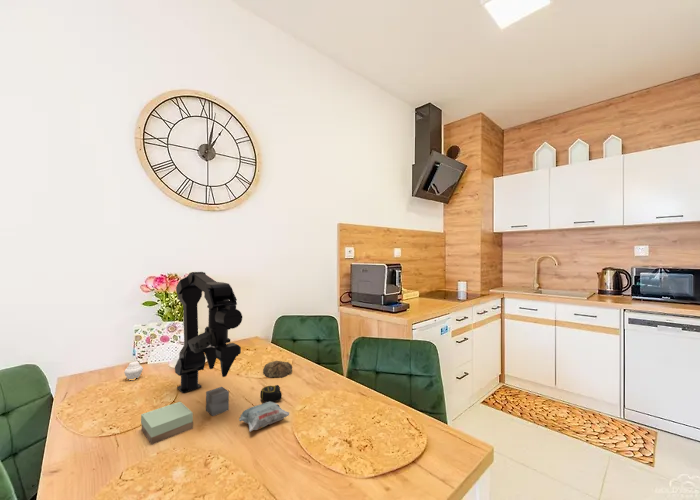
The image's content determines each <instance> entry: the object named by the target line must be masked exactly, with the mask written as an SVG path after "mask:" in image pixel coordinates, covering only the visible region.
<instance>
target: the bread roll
mask: <svg viewBox="0 0 700 500" xmlns="http://www.w3.org/2000/svg"><path fill="white" fill-rule="evenodd" d="M292 368H293V365H292V363H290V362H289V361H281V360H273V361H270V362H268V363H266V364H265V365H264V366H263V369H262V373H263V375H264V374H265V375H264V376H265V377H266V378H268V379H271V378H275V377H276V378H280V379H281V378H282V379H283V378H286V377H288V375H292V373H293V369H292Z"/></svg>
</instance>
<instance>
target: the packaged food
mask: <svg viewBox="0 0 700 500" xmlns="http://www.w3.org/2000/svg"><path fill="white" fill-rule="evenodd" d="M289 416H290V412H289V411H286V410H285V409H282V407H280V405H279V403H277V402H274V401H273V402H271V401H269V402H263V403H260V404H258V405H255V406H251V407H248V408H247V409H245V410H243V412H242V413H241V414H240V417H239V419H238V421H239V422H243V423H245V424H248V430H249V432H252V431H258V430H260V429H263V428H265V427H266V426H269V425H272V424H275V423H277V422H279V421H281V420H283V419H284V418H286V417H289Z"/></svg>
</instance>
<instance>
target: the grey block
mask: <svg viewBox="0 0 700 500" xmlns="http://www.w3.org/2000/svg"><path fill="white" fill-rule="evenodd" d="M229 402H230V391H229V390H228V389H226V388H225V387H223V386H219V387H217V388H213V389H210V390H207V391H205V411H206V413H208V414H209V415H210V416H212V417H214V416H217V415H221V414H223V413H225V412H227V411H229V407H230V406H229V405H230V404H229Z"/></svg>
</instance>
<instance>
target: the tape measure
mask: <svg viewBox="0 0 700 500" xmlns="http://www.w3.org/2000/svg"><path fill="white" fill-rule="evenodd" d="M259 398H260V399H261V401H263V403H266V402H269V401H271V402H273V403H274V402H277V401H280V400H281V399H282V391H281V387H280V385H278V384H276V385H266V386H264V387H262V389H261V390H260V395H259Z"/></svg>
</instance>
